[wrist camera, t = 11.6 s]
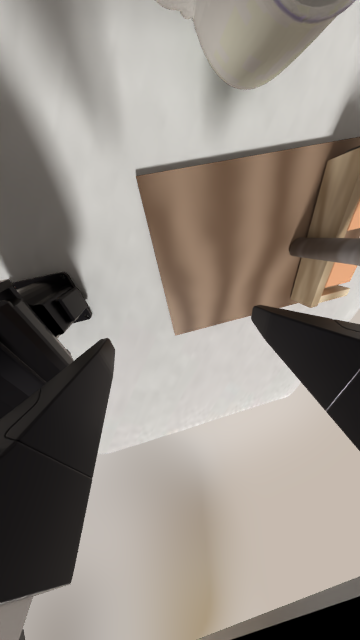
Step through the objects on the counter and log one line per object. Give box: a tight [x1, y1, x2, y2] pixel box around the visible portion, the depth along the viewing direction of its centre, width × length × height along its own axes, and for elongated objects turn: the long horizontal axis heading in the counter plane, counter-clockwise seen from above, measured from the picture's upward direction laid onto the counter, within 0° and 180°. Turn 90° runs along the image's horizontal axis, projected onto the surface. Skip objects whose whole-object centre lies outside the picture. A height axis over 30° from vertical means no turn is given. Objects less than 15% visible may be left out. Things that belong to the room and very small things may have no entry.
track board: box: [136, 137, 360, 336], centre depth 20 cm, size 31×20×1 cm, turn 100°
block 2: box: [347, 199, 360, 231], centre depth 17 cm, size 4×4×4 cm
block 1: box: [325, 262, 357, 288], centre depth 21 cm, size 4×4×4 cm
